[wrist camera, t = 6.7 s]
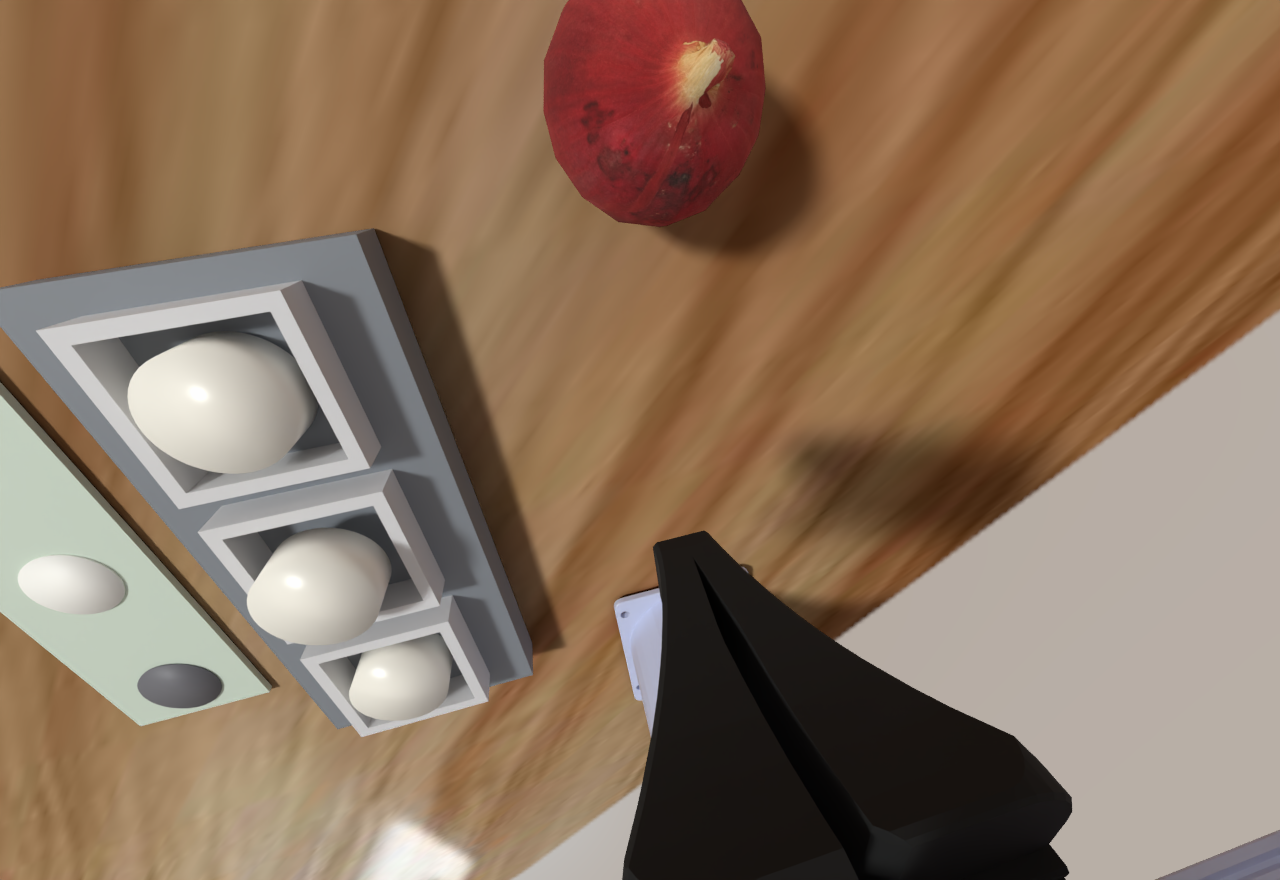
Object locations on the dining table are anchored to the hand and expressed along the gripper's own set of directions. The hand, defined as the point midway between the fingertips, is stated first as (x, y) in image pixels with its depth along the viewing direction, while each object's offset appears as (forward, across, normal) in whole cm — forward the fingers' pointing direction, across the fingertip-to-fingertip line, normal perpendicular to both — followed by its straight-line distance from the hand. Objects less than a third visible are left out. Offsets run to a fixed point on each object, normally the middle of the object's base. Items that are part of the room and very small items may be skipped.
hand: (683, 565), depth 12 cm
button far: (+8, +12, +10) cm, 18 cm away
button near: (+8, +12, -4) cm, 15 cm away
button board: (+10, +12, +3) cm, 16 cm away
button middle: (+7, +12, +3) cm, 14 cm away
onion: (+11, -2, -10) cm, 15 cm away
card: (+10, +23, +3) cm, 25 cm away
